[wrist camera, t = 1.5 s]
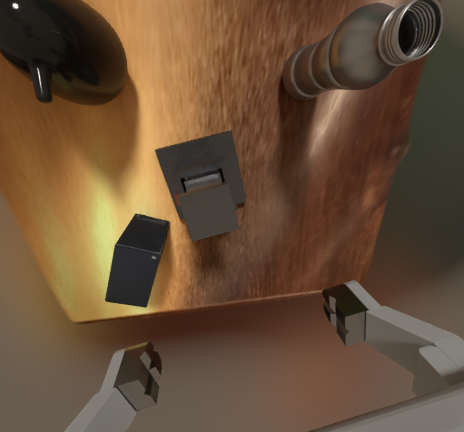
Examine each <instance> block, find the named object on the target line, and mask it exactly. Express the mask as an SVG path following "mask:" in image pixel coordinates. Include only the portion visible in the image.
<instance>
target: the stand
mask: <svg viewBox="0 0 464 432" xmlns="http://www.w3.org/2000/svg"><path fill="white" fill-rule="evenodd" d="M155 152H156V154H157V157H158V160H159V163H160V165H161V168H162V171H163V174H164V176H165V179H166V182H167V185H168V187H169V190H170V193H171V195H172V198H173V201H174V204H175V206H176V209H177V212H178V215H179V217H180V219H183V218H184V215H183V213H182V210H181V207H180V204H179V201H178V199H177V195H179V194H182V193H186V187H185V184H184V181H185V177H189V176H193V175H197V174H200V173H204V172H208V171H212V170H216V169H218V171H219V172H220V176H221V180H222V183H224V182H228V184H229V187H230V192H231V196H232V200H233V204H234V208H235V210H238V209H237V204H239V203H243V202H246V198H245V193H244V188H243V184H242V179H241V174H240V169H239V164H238V160H237V155H236V150H235V145H234V140H233V136H232V131H226V132H222V133H218V134H214V135H210V136H206V137H202V138H198V139H194V140H190V141H186V142H182V143H178V144H174V145H170V146H167V147H163V148H159V149H156V150H155Z"/></svg>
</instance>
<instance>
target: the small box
mask: <svg viewBox="0 0 464 432" xmlns="http://www.w3.org/2000/svg"><path fill="white" fill-rule="evenodd" d="M169 224H170V222H169V221H166V220H161V219H156V218H152V217H148V216H146V215H140V214H135V215H134V217H133V218H132V220H131V221H130V223H129V224H128V226H127V228H126V229H125V231H124V232H123V234H122V235H121V237H120V238H119V240H118V241H117V243H116V244H115V248H114V254H113V259H112V265H111V271H110V276H109V282H108V287H107V293H106V298H105V301H106V302H112V303H119V304H126V305H133V306H140V307H147V304H148V300H149V297H150V293H151V290H152V286H153V282H154V279H155V275H156V272H157V268H158V264H159V261H160V257H161V254H162V250H163V247H164V243H165V239H166V237H167V232H168V228H169Z"/></svg>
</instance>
